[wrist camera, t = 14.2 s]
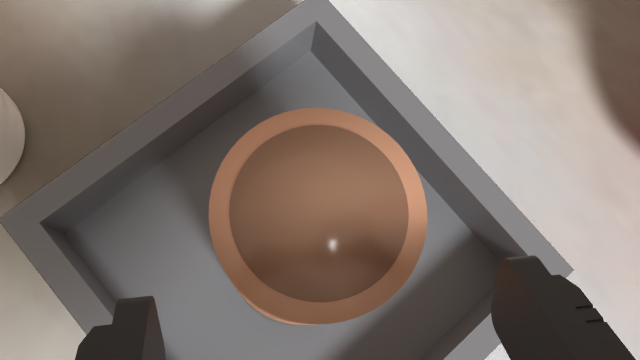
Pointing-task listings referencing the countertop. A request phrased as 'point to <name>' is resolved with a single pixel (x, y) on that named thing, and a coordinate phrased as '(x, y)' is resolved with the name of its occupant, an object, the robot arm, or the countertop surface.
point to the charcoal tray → (193, 209)
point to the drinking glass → (10, 136)
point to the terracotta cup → (317, 217)
